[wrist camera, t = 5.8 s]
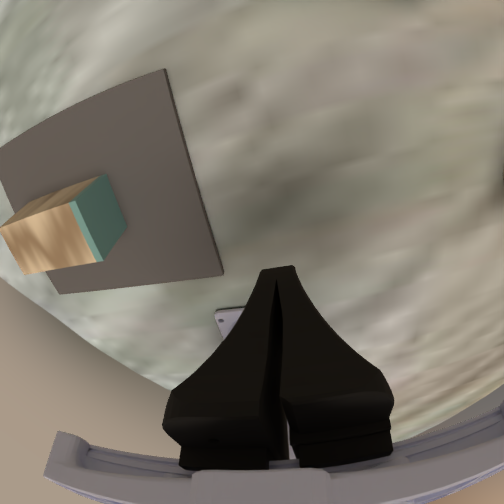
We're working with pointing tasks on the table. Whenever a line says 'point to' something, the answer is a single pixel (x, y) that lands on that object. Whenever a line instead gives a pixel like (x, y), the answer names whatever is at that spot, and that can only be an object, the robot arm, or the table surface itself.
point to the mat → (121, 184)
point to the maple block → (65, 227)
